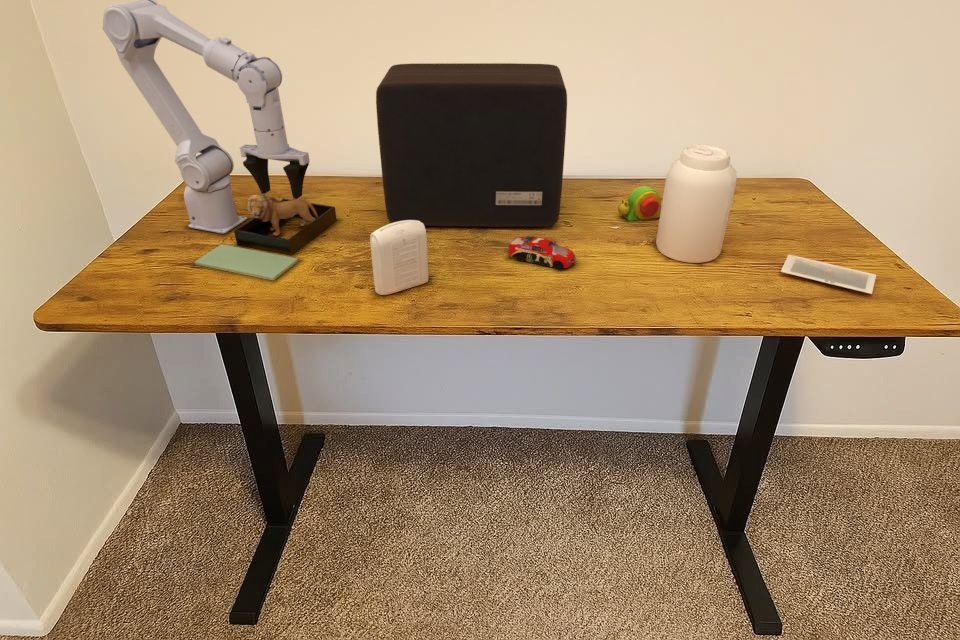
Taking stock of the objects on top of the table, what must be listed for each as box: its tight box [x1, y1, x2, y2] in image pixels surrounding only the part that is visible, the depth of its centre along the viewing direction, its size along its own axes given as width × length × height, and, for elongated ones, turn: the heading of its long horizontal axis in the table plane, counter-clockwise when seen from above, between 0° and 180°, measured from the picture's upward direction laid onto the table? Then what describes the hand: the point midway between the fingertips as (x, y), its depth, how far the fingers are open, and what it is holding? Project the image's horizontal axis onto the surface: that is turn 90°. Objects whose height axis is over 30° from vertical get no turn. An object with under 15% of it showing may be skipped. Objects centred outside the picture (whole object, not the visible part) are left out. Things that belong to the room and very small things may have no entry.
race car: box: [507, 235, 576, 271], centre depth 124 cm, size 13×5×4 cm, turn 63°
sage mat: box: [193, 243, 299, 282], centre depth 125 cm, size 18×8×1 cm, turn 70°
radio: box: [375, 62, 568, 228], centre depth 135 cm, size 36×18×30 cm, turn 88°
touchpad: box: [780, 254, 877, 295], centre depth 118 cm, size 8×15×2 cm, turn 58°
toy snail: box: [617, 185, 662, 222], centre depth 141 cm, size 6×20×7 cm, turn 108°
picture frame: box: [233, 198, 338, 256], centre depth 135 cm, size 13×17×3 cm
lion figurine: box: [246, 193, 318, 237], centre depth 133 cm, size 15×5×9 cm, turn 113°
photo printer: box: [369, 220, 429, 296], centre depth 114 cm, size 10×4×12 cm, turn 123°
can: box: [655, 144, 738, 264], centre depth 123 cm, size 12×12×20 cm
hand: (281, 194), depth 131 cm, fingers open, 7 cm apart
